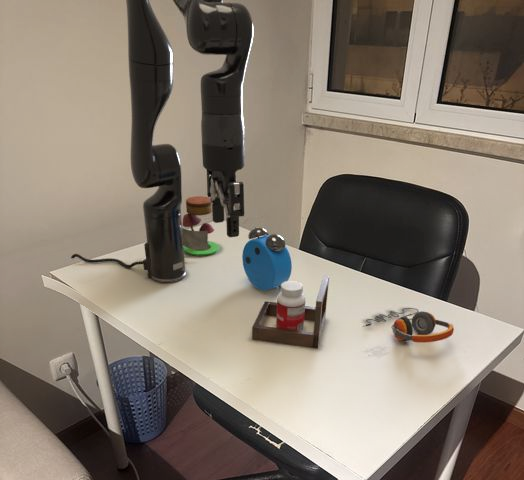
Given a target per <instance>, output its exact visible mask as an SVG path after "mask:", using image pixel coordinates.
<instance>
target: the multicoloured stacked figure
mask: <svg viewBox="0 0 524 480" xmlns="http://www.w3.org/2000/svg"><path fill="white" fill-rule="evenodd" d="M212 204H213V203H211V201H210V197H208V196H202V195H199V196H190V197H187V198H186V199H185V206H186V210H185V211H186V214H184V215H183V217H182V233H183V246H184V253H186V254H188V255H189V256H195V257H204V256H210V255H214V254H216V253H218V252H219V250H220V246H219V244H217V243H216V242H213V241H210V240H209V241H208V239H209V235H210V234H212V233H214V232H215V228H214V227H213V226H212V225H211V224H210V223H208V222H204V223H202V224H201V226H199V227H200V228H199V230H195V229H194V227H195V226H197V225H199V224H200V223H201V222H202V218H200V217H199V216H206V215H209V214H212ZM183 227H184V228H183ZM185 228H190V229H185ZM208 234H209V235H208Z"/></svg>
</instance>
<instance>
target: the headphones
mask: <svg viewBox="0 0 524 480" xmlns="http://www.w3.org/2000/svg"><path fill="white" fill-rule="evenodd" d="M405 310H416V312H413V313H408V314H406V315H403V316H400V315H401V314H404V313H405ZM411 316H412V318H409V317H411ZM392 317H394V318H396V319H395V320H394V322H393V324H392V325H391V327H390V328H391V330H392V333H393V335H394V337H395V338H396V339H397V340H399V341H403V342H410V341H411V342H413V343H433V342H439V341H442V340H445V339H448V338H450V337H451V336H453V335H454V330H455V328H454V324H453V323H451V322H448V321H444V320H440V319H436V318H435V316H434V314H432V313H430V312H428V311H420V310H419V309H418V308H415V307H404V308H402V312H398V311H397V312H396V311H393V310H390V311H389V314H387V315H386V314H378V315H375V316H374V318H367V319H365V322H366V323H367V324H364V325H362V326H361V327H362V328H364V327H365V328H366V327H370V326H371V325H372V324H373V323H372V321H374V322H376V323H380V322H384V323H386V322H387V320H386V319H385V318H388V319H392ZM370 321H371V322H370ZM436 325H437V326H441V327H445V328H447V329H445V330H443V331H440V332H437V333H433V332H434V330H435V327H436ZM414 331H415V332H416V334H413V333H414ZM431 333H432V334H431Z"/></svg>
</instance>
